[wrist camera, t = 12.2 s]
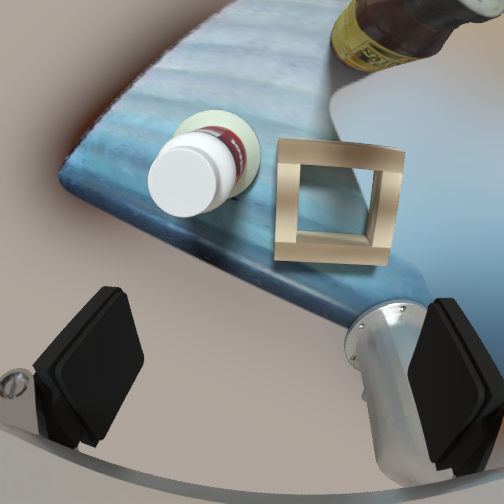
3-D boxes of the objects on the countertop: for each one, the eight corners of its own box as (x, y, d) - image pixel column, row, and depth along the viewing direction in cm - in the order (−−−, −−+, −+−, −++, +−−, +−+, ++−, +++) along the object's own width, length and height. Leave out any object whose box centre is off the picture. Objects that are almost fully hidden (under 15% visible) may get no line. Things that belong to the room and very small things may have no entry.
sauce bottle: (337, 77, 26) (421, 41, 8) (321, 18, 23) (368, -89, 6) (400, 70, 24) (537, 50, 7) (384, 13, 22) (493, -67, 4)
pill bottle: (245, 190, 31) (225, 235, 21) (184, 184, 31) (138, 225, 21) (250, 126, 28) (231, 140, 18) (186, 122, 28) (136, 136, 19)
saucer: (260, 198, 32) (259, 201, 31) (175, 196, 33) (171, 199, 32) (261, 109, 28) (260, 109, 27) (170, 112, 29) (167, 112, 28)
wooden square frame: (379, 252, 33) (386, 265, 31) (275, 247, 34) (274, 260, 32) (395, 147, 28) (405, 152, 25) (278, 137, 29) (278, 141, 26)
